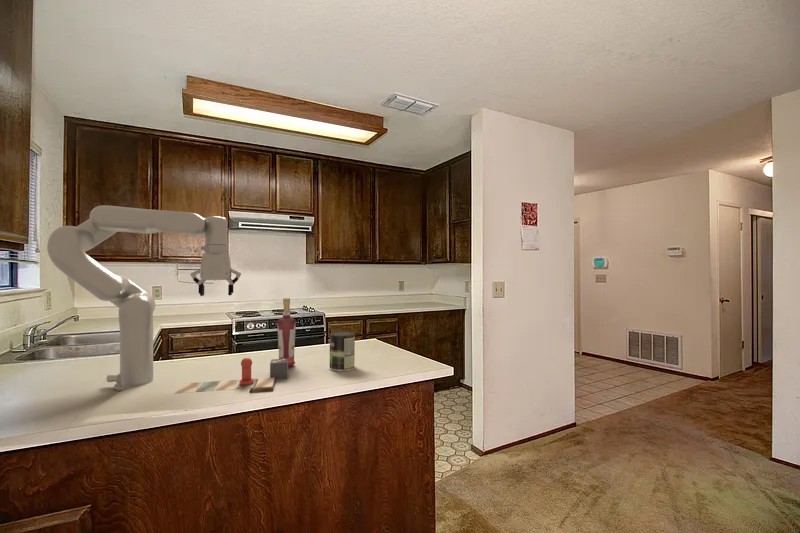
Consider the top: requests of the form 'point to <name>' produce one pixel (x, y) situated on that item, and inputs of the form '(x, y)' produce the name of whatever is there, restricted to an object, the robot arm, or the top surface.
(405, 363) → the top surface
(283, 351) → the liquor
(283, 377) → the die
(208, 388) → the board
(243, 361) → the pawn
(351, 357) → the coffee can
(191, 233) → the robot arm
